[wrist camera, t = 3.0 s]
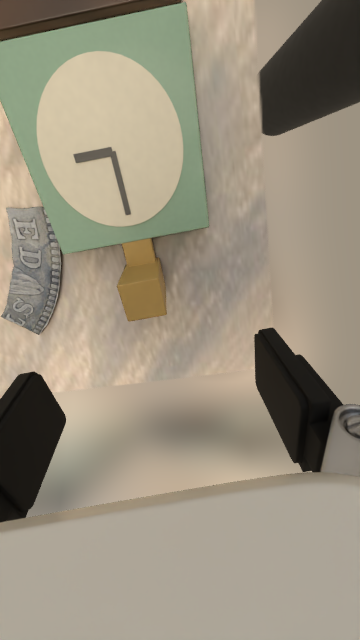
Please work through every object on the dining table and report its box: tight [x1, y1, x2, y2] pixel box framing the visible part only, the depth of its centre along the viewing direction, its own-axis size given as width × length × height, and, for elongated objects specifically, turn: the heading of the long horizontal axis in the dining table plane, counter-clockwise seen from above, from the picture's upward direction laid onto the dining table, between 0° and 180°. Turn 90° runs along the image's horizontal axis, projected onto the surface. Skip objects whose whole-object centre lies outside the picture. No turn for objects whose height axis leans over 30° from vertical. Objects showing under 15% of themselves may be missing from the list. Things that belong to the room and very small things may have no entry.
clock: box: [0, 2, 209, 321], centre depth 17 cm, size 12×17×6 cm
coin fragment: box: [1, 207, 61, 335], centre depth 22 cm, size 13×5×1 cm, turn 159°
